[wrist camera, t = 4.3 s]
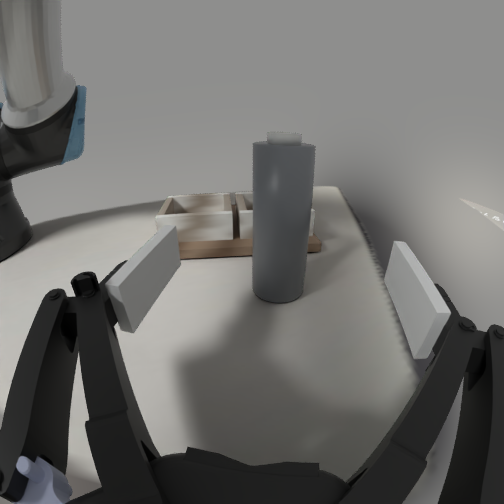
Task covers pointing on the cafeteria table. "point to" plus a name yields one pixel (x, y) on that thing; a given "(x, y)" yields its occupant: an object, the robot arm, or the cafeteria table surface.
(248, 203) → the socket board
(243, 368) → the cafeteria table surface
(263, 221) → the plug
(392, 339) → the cafeteria table surface
